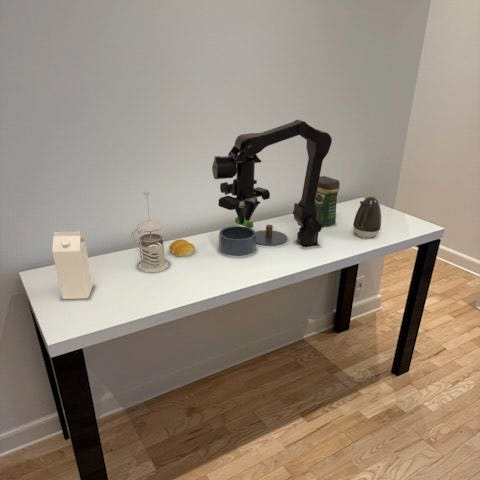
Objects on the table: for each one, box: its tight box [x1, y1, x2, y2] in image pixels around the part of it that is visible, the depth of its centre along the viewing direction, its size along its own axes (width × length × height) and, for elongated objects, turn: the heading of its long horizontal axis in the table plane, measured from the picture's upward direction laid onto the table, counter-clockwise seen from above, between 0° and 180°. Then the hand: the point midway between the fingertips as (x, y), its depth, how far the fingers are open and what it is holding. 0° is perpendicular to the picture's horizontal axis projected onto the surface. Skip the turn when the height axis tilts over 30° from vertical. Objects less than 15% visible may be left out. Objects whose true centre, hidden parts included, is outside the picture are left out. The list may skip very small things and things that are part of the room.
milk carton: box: [51, 231, 94, 300], centre depth 125 cm, size 7×7×19 cm
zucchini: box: [234, 216, 255, 229], centre depth 150 cm, size 8×2×2 cm, turn 45°
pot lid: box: [255, 224, 289, 247], centre depth 164 cm, size 14×14×6 cm
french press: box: [130, 190, 169, 273], centre depth 140 cm, size 10×12×25 cm
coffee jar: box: [315, 175, 341, 227], centre depth 177 cm, size 10×8×19 cm
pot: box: [218, 225, 257, 257], centre depth 156 cm, size 13×13×6 cm
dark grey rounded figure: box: [352, 196, 382, 239], centre depth 167 cm, size 10×10×15 cm
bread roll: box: [168, 238, 196, 258], centre depth 154 cm, size 8×9×4 cm
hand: (244, 222), depth 150 cm, fingers closed on zucchini, 2 cm apart
